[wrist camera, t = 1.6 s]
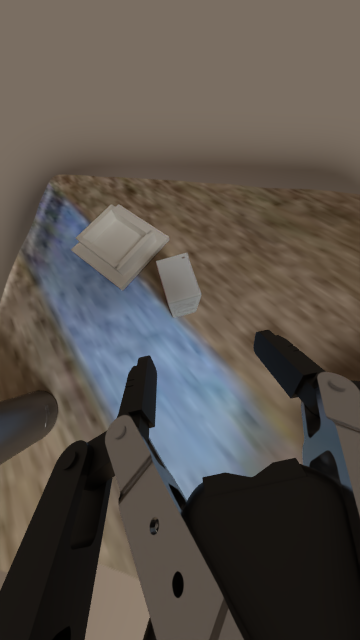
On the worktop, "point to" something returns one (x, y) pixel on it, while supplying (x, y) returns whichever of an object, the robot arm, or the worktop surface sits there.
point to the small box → (179, 284)
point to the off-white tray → (119, 245)
